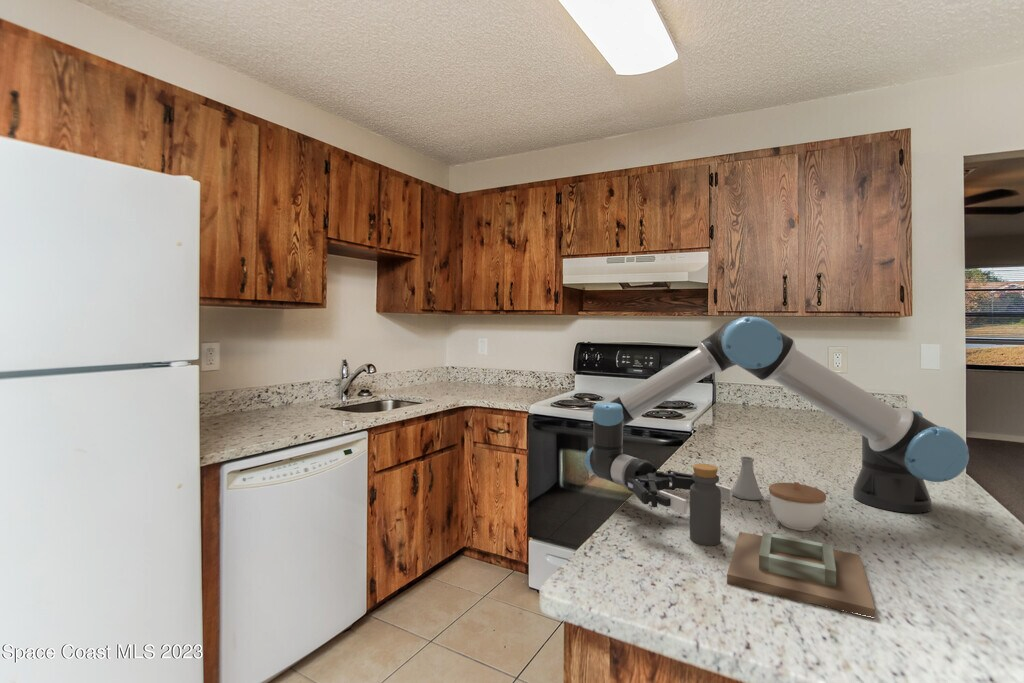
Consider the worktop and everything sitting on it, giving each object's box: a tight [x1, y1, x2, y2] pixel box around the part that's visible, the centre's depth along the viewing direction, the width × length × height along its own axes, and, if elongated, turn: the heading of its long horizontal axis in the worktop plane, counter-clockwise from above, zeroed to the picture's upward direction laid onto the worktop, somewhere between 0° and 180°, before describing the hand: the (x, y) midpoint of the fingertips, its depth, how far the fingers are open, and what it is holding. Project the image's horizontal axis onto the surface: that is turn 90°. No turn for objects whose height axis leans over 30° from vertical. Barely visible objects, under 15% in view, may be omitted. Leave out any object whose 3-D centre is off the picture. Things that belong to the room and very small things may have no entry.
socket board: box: [726, 531, 876, 618], centre depth 84 cm, size 20×20×4 cm
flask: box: [732, 455, 763, 501], centre depth 123 cm, size 7×7×10 cm
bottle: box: [689, 463, 722, 547], centre depth 97 cm, size 6×6×15 cm
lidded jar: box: [768, 481, 827, 532], centre depth 104 cm, size 11×11×9 cm
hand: (709, 501), depth 96 cm, fingers open, 13 cm apart
